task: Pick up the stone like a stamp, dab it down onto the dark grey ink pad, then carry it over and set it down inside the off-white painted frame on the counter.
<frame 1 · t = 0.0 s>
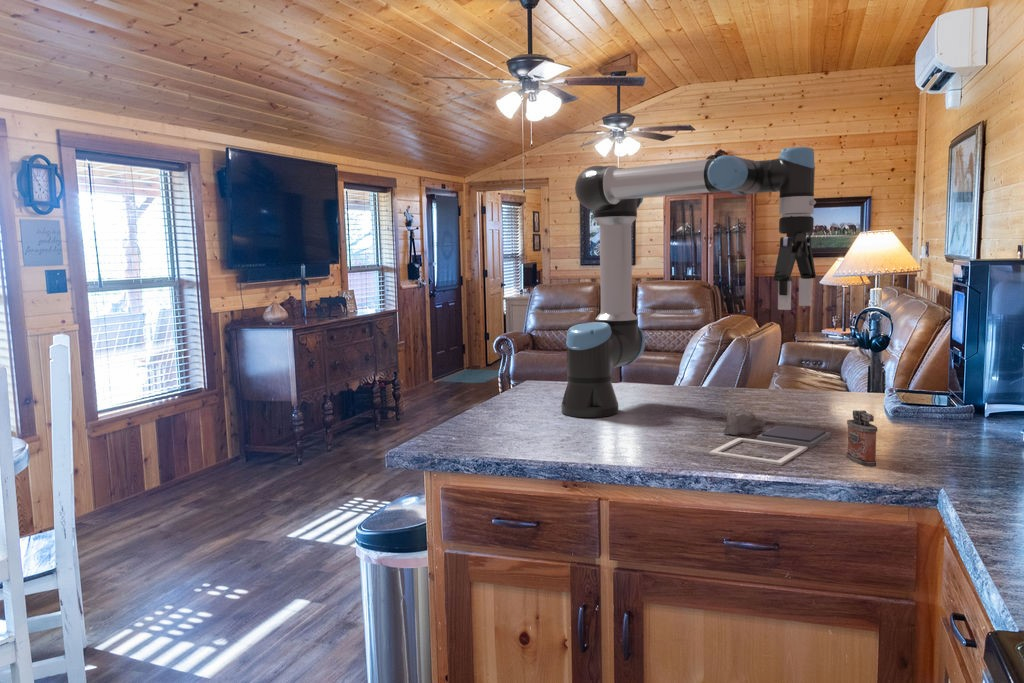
hand: (794, 307, 179), 28 cm above the worktop, fingers open, 13 cm apart
lighter: (861, 462, 150), on the worktop
stone: (741, 433, 177), on the worktop
ink pad: (793, 438, 169), on the worktop
print box: (758, 451, 159), on the worktop
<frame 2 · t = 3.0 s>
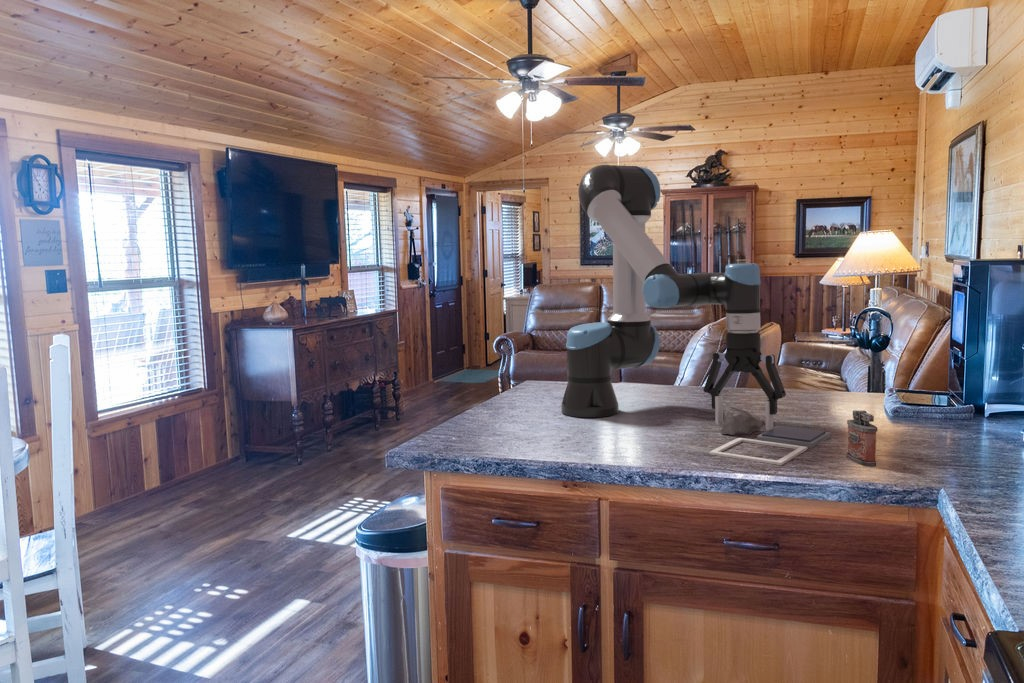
hand: (743, 425, 176), 2 cm above the worktop, fingers open, 11 cm apart
nothing on the worktop moved.
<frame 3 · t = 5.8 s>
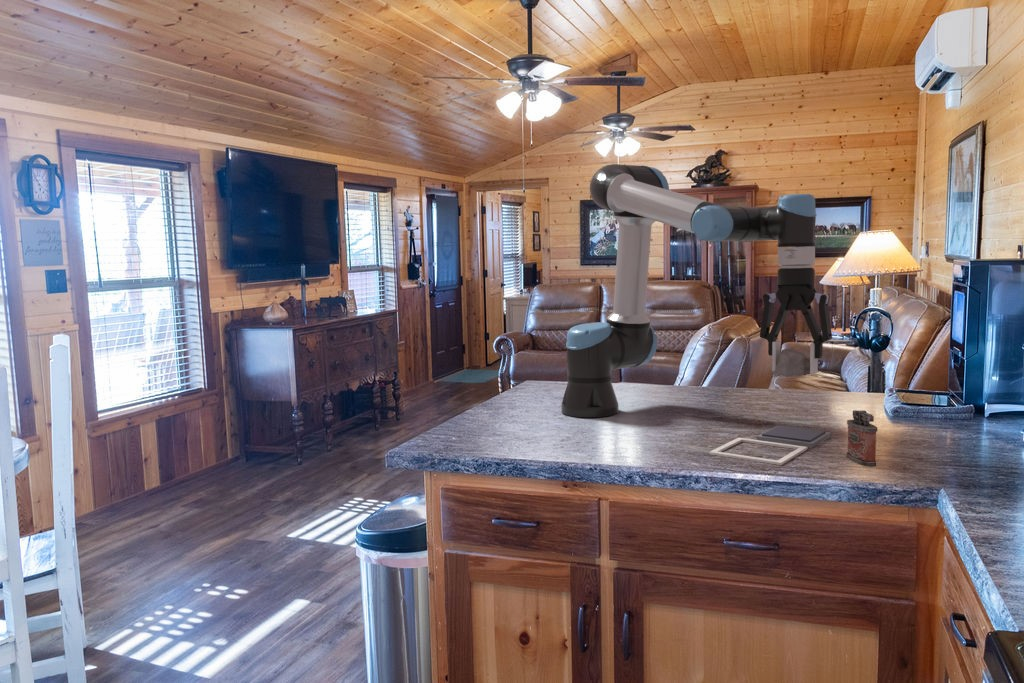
hand: (794, 371, 167), 15 cm above the worktop, fingers closed on stone, 7 cm apart
stone: (792, 375, 168), point 14 cm above the worktop, touching gripper
everything else where it was.
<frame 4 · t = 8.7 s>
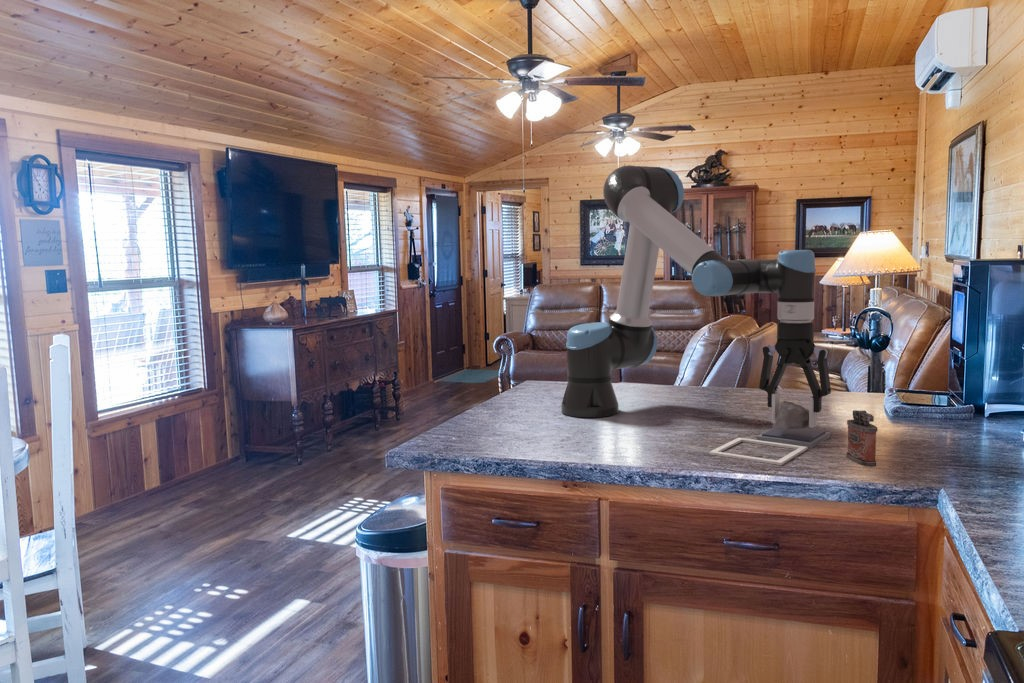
hand: (793, 424, 169), 3 cm above the worktop, fingers closed on stone, 7 cm apart
stone: (791, 428, 169), point 2 cm above the worktop, touching gripper
everything else where it was.
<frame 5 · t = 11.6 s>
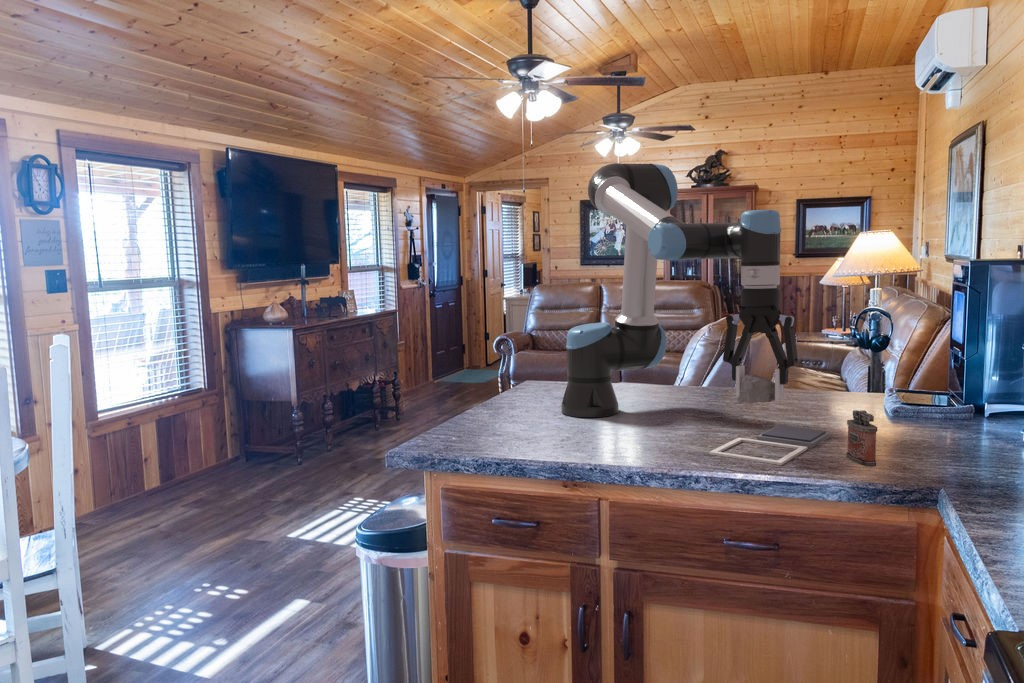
hand: (759, 397, 157), 11 cm above the worktop, fingers closed on stone, 7 cm apart
stone: (756, 402, 158), point 10 cm above the worktop, touching gripper
everything else where it was.
when the fingers open (3 cm above the worktop, at t = 14.1 s): stone drops 2 cm, on the worktop.
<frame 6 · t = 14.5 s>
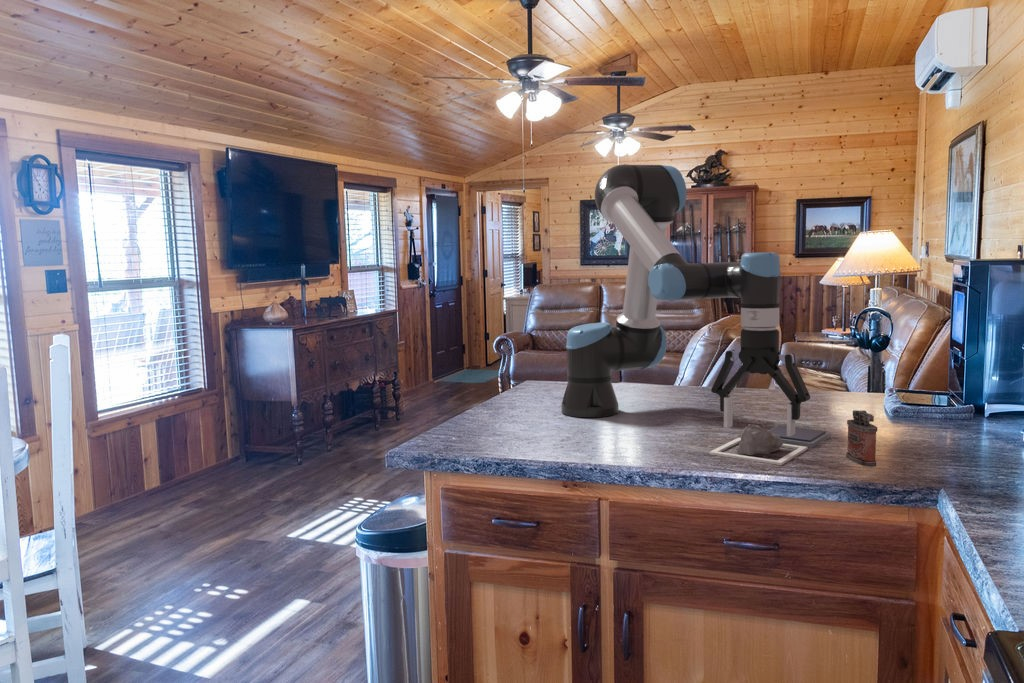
hand: (758, 431, 158), 4 cm above the worktop, fingers open, 13 cm apart
stone: (756, 453, 159), on the worktop
everything else where it was.
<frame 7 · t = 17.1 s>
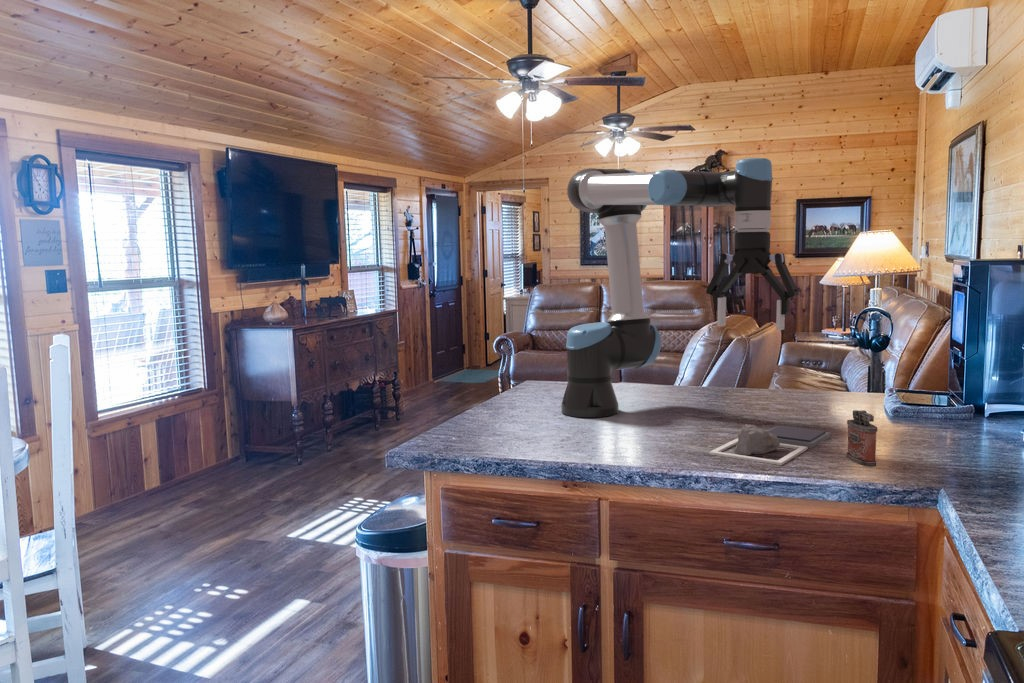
hand: (750, 328, 169), 25 cm above the worktop, fingers open, 13 cm apart
nothing on the worktop moved.
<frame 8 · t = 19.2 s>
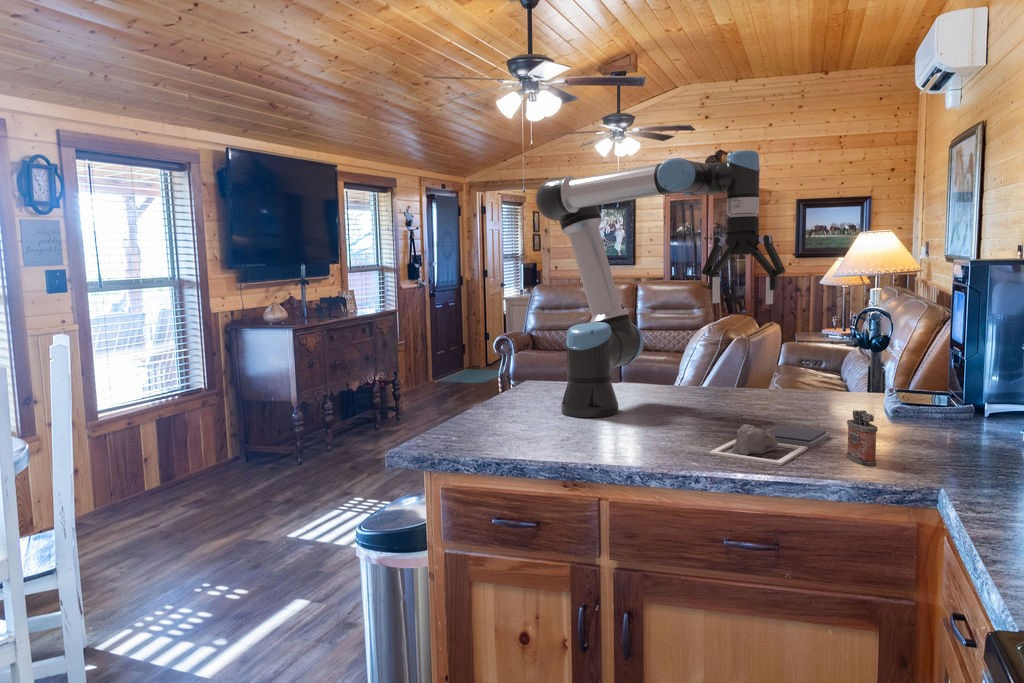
hand: (742, 303, 188), 29 cm above the worktop, fingers open, 13 cm apart
nothing on the worktop moved.
at the end: stone inside the target area on the print box (1.5 cm from its centre), point 0.0 cm above the print box's base; the gripper is holding nothing; stone touching worktop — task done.
